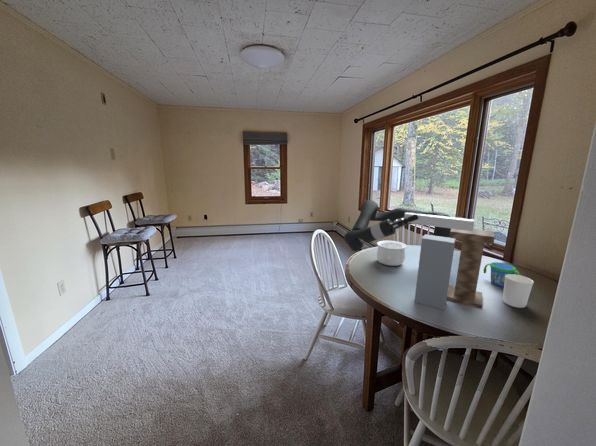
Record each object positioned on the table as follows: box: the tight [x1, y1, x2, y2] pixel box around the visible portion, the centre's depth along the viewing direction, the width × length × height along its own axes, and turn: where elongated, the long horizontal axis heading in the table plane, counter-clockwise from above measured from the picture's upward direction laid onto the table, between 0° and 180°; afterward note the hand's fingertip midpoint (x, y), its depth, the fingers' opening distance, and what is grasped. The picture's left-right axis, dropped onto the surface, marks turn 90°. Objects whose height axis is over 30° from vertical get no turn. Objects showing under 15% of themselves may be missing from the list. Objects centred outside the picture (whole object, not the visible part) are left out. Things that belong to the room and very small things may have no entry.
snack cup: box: [483, 261, 521, 287], centre depth 138 cm, size 16×10×10 cm
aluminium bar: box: [404, 212, 475, 231], centre depth 112 cm, size 26×4×4 cm, turn 56°
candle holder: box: [502, 273, 535, 309], centre depth 118 cm, size 10×10×12 cm
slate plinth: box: [414, 234, 456, 311], centre depth 116 cm, size 12×8×30 cm, turn 56°
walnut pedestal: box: [446, 228, 496, 309], centre depth 121 cm, size 16×14×32 cm
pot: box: [376, 239, 407, 267], centre depth 165 cm, size 22×17×12 cm
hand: (418, 215), depth 116 cm, fingers closed on aluminium bar, 4 cm apart
